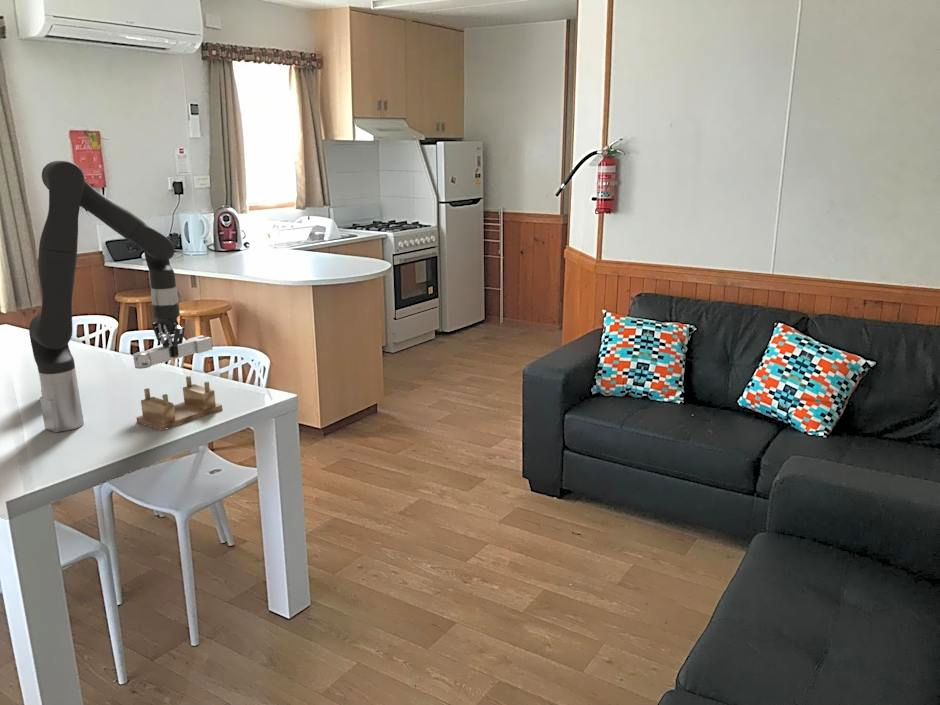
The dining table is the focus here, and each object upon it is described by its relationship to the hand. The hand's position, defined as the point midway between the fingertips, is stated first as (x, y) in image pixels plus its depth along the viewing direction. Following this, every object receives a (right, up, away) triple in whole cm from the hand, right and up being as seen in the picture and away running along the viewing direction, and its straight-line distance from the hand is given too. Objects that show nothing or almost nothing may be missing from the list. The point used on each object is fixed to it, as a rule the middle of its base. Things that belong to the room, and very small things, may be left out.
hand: (171, 355), depth 234 cm
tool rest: (+6, -18, -8) cm, 21 cm away
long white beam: (0, -1, 0) cm, 1 cm away
